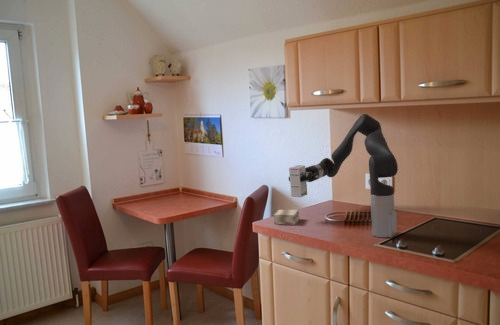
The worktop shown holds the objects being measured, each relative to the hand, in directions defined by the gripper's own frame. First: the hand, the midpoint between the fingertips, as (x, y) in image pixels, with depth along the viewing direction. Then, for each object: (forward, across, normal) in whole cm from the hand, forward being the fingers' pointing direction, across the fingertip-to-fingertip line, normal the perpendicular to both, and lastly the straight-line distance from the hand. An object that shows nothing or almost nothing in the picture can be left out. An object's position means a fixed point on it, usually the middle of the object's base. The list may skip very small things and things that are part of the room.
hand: (295, 179), depth 210 cm
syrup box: (-2, 0, +9) cm, 9 cm away
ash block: (+2, -5, +21) cm, 22 cm away
